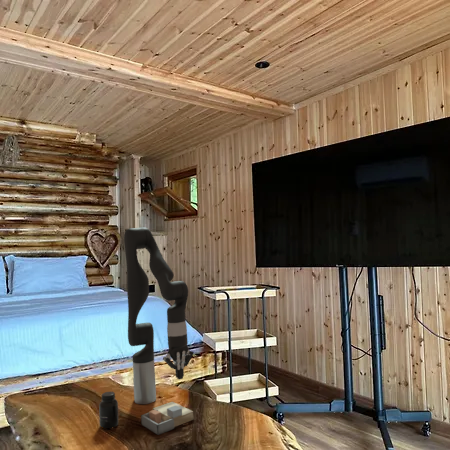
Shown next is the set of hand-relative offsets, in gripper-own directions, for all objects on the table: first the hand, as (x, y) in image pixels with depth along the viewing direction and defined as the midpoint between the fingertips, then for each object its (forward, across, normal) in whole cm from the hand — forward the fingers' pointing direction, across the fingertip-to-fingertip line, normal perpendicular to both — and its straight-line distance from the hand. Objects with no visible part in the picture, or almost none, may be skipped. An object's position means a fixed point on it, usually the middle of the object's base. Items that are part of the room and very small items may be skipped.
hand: (179, 378), depth 160 cm
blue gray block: (+12, +4, +1) cm, 13 cm away
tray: (+15, +10, -1) cm, 18 cm away
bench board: (+15, +2, -4) cm, 16 cm away
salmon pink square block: (+13, +8, -4) cm, 16 cm away
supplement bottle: (+16, +23, -15) cm, 32 cm away
